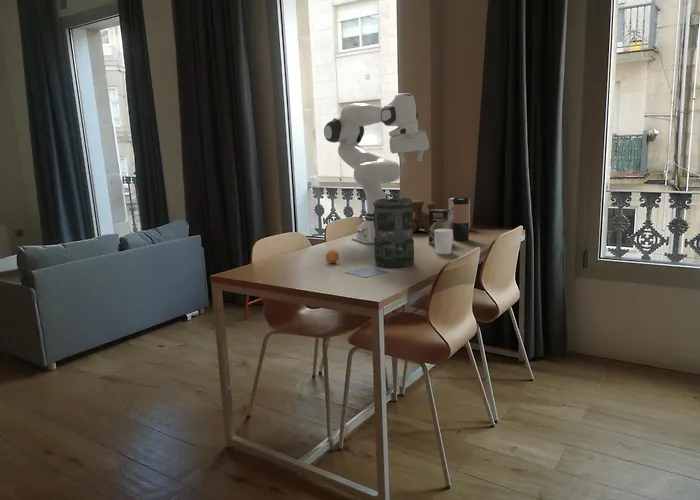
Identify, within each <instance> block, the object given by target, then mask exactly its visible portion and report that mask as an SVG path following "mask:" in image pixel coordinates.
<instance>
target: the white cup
mask: <svg viewBox="0 0 700 500" xmlns="http://www.w3.org/2000/svg"><path fill="white" fill-rule="evenodd" d="M434 239H435V245H434V247H435V248H434V249H435V250H434V251H435V254H437V255H449V254H451V253H452V247H453V229H436V230H434Z"/></svg>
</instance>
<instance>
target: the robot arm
mask: <svg viewBox="0 0 700 500" xmlns="http://www.w3.org/2000/svg"><path fill="white" fill-rule="evenodd" d="M418 118H419V111H418V108H417V106H416V100H415V98H414V95H413V94H411V93H410V92H409V93H397V94H396V95H395V96H394V98H393V100H392V101H391V102H389V103H388V104H386V105H384V106H378V105H373V104H369V103H362V102H358V103H357V102H356V103H350V104H347V105H345V106H344V107H343V108H342V109H341V111H340V117H339V118H336V117H334V118H333V119H331V121H328V122H327V123H326V124H325V126H324V128H323V135H324V138H325V140H326V141H327V142H330V143H339V145H338V147H337V153H338V156H339V158H340V159H341V160H342V161H343V162H345V164H346V165H348V166H349V167H351V169H353V177H354V181H355V182H356V183H357V184H358V185H359V186H360V187H361V188H362V190H363V192H364V194H365V197H366V198H365V199H366V208H367V212H366V213H364V214H363V216H364V217H365V219H364V221H363V222H362V223H361V224H359V225H358V226H357V228H356V236H353V237H351V240H353V241H355V242H359V243H362V244H374V237H375V228H374V215H373V212H374V207H375V206H373V203H374V202H375V201H376V200H378V199H386V194H388V193H387V192H384V190H383V189H382V185H383V184H389V183H392V182H396V181H397V180H399V178H400V176H401V170H402V169H401V167H400V164H399V163H398V162H396V161H392V160H389V159H386V158H383V157H381V156H379V155H376V154H373V153H372V152H369V151H368V150H366V149H364V148H363V147H362V146H360V145H359V144H360V143H361V141H362V140H363V136H364V134H365V127H367V126H370V125H374V124H379V123H383V124H384V125H385V126H387V127H396V128H394V129H393V130H391V131H389V133H388V135H389V137H390V138H389V150H390V153H391V154H397V156H398V158H399V160H400V163H401V164H406V162H407V159H406V158H405V157H404V153H412V152H417V154H418V155H417V157H416V162H422V160H423V155H424V151H428V150H429V148H430V143H429V138H428V136H427V135H428V134H427V131H425V129H419V123H418ZM387 199H391V198H390V196H387Z"/></svg>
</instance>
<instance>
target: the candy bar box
mask: <svg viewBox="0 0 700 500" xmlns="http://www.w3.org/2000/svg"><path fill="white" fill-rule="evenodd" d="M454 198H455V197H451V198H447V210H450V229H452V230H453V199H454ZM470 228H471V199H470V198H469V230H470Z"/></svg>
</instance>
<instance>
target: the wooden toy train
mask: <svg viewBox="0 0 700 500" xmlns="http://www.w3.org/2000/svg"><path fill="white" fill-rule="evenodd" d="M411 200H412V202H413V205H412V211H413V214H414V216H413V234H414V233H416V232H417V231H419V230H424V232H425V233H426V234H429V210H431V209H436V208H437V205H436V203H435V202H434V201H429V202H428V203H427V206H426V207H427V210H428V211H427V212H426V211H425V212H423V206H425V203H424V202H425V200H423V199H411Z"/></svg>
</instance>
